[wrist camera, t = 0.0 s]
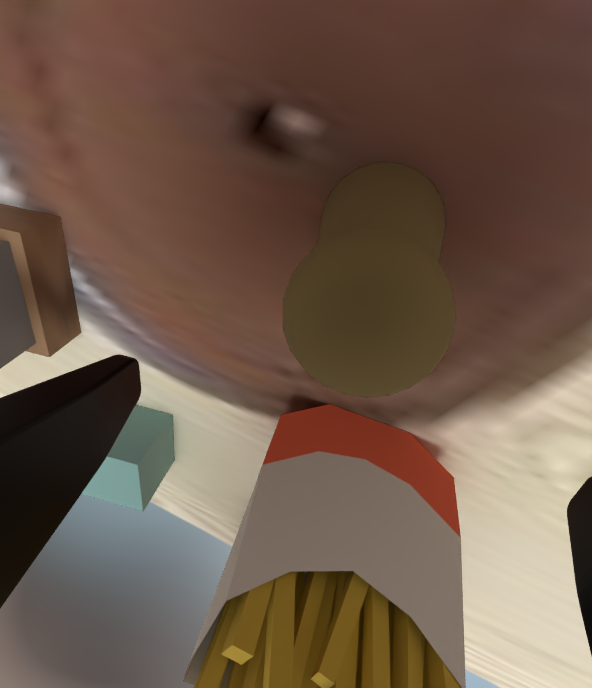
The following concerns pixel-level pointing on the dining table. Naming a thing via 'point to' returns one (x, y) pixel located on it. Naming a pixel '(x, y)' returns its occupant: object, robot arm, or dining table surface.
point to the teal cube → (136, 460)
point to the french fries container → (340, 566)
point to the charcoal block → (12, 310)
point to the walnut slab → (42, 276)
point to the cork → (373, 285)
